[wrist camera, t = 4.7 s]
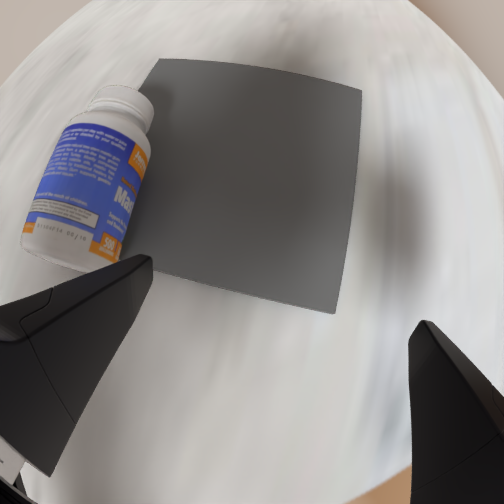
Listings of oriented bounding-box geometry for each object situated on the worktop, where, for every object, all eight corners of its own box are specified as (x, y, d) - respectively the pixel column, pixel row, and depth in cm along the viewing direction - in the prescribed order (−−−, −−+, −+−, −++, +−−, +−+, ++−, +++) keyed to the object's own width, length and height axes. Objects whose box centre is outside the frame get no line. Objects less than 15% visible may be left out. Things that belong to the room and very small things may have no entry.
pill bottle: (117, 276, 12) (179, 95, 14) (5, 239, 9) (90, 64, 12) (110, 281, 16) (155, 140, 19) (29, 255, 14) (85, 115, 16)
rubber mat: (332, 314, 15) (334, 313, 15) (70, 244, 16) (66, 242, 16) (360, 94, 19) (362, 90, 19) (160, 62, 20) (159, 58, 20)
